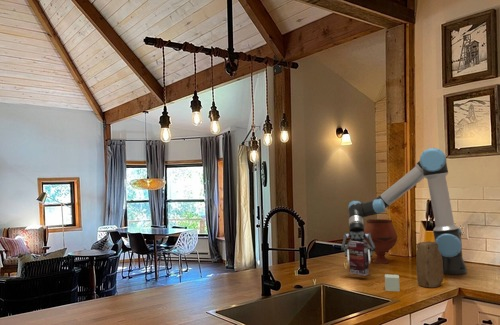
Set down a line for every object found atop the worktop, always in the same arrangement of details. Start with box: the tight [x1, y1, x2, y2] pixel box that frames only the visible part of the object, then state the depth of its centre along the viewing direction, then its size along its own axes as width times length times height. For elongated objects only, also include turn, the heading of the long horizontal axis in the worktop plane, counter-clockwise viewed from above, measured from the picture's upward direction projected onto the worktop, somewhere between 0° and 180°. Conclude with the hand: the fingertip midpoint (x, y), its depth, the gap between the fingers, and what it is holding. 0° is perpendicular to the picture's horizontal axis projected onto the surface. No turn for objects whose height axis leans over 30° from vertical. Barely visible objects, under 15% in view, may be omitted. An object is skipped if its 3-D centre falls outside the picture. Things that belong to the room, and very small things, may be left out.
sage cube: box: [384, 273, 401, 292], centre depth 186 cm, size 6×6×6 cm
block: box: [415, 240, 444, 289], centre depth 191 cm, size 11×8×20 cm
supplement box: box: [347, 240, 370, 276], centre depth 207 cm, size 9×5×16 cm, turn 47°
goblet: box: [364, 218, 398, 265], centre depth 245 cm, size 19×19×25 cm
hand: (359, 262), depth 204 cm, fingers closed on supplement box, 9 cm apart
